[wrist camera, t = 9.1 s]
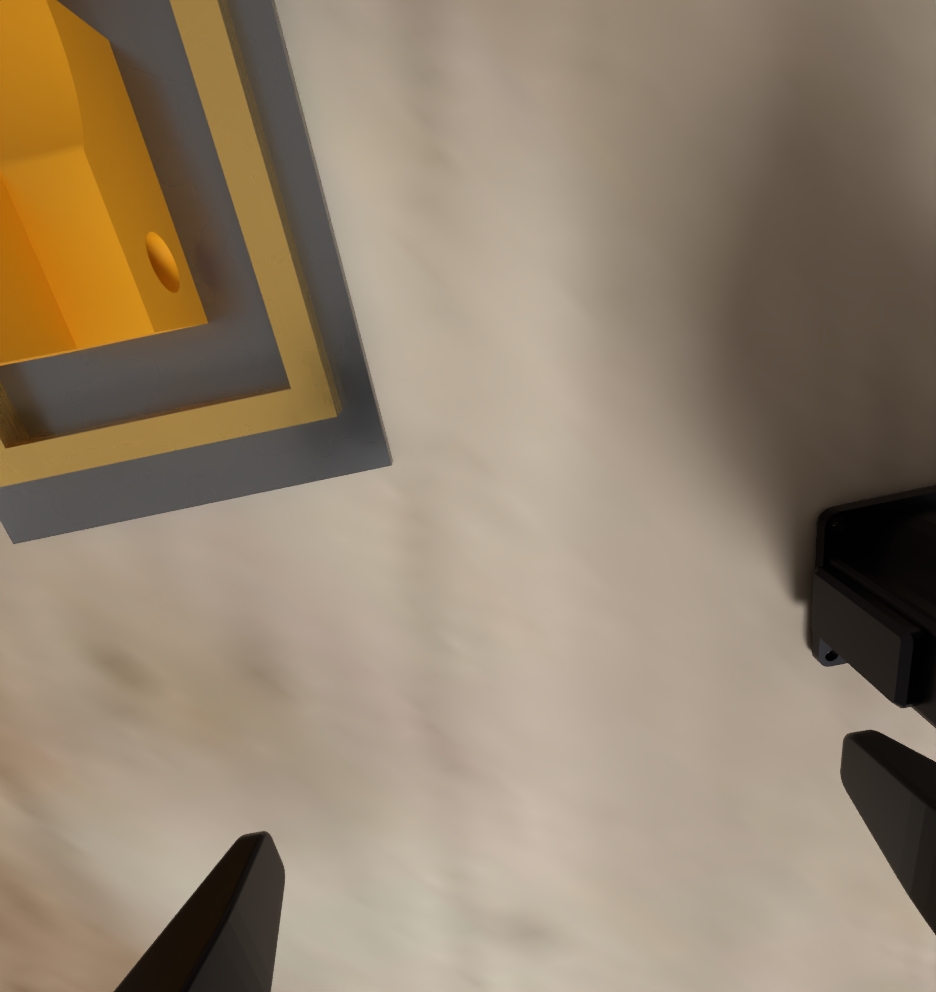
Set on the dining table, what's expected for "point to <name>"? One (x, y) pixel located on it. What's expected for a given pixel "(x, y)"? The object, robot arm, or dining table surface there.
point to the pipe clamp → (78, 197)
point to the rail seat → (204, 301)
